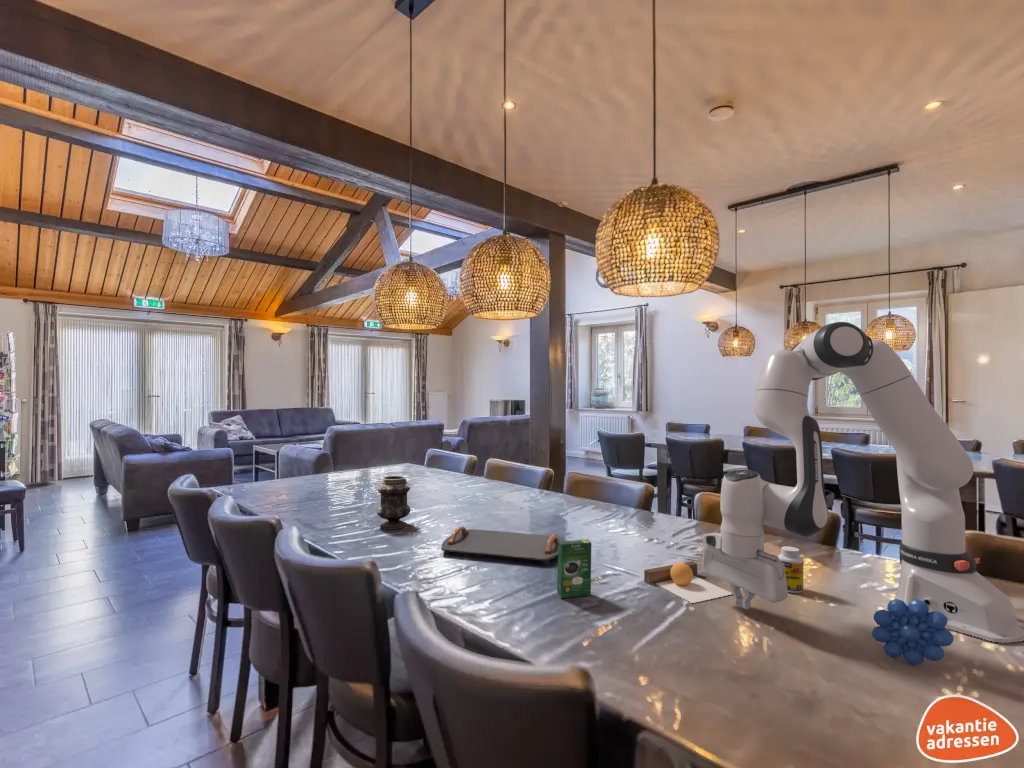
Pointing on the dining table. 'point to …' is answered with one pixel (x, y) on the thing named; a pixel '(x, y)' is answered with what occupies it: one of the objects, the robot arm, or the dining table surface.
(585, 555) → the coffee box
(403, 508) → the apothecary jar
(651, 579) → the stop rail
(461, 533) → the serving board
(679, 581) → the ball
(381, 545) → the dining table surface
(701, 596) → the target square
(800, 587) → the supplement bottle
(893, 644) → the blue bumpy cluster
